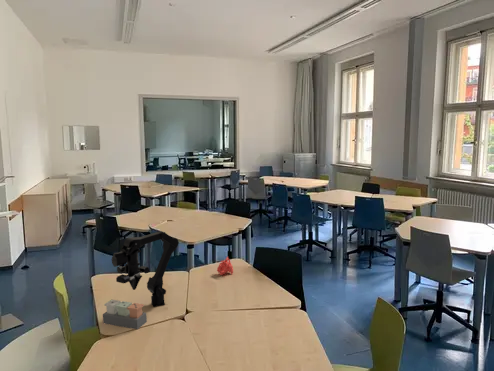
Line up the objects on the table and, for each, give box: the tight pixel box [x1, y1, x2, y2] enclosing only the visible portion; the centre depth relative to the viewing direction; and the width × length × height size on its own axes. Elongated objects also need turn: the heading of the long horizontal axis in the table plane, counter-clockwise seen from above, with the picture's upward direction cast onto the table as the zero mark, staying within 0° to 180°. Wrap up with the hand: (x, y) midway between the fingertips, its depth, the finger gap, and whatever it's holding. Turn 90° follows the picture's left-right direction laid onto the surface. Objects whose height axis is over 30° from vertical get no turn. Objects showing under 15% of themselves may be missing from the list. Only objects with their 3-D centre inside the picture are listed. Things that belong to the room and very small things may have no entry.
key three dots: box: [128, 302, 145, 318], centre depth 189 cm, size 6×6×7 cm
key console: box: [102, 311, 148, 330], centre depth 192 cm, size 8×21×5 cm, turn 71°
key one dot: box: [104, 299, 122, 314], centre depth 194 cm, size 6×6×7 cm
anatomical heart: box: [216, 256, 234, 276], centre depth 258 cm, size 9×12×12 cm
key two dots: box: [116, 300, 133, 316], centre depth 192 cm, size 6×6×7 cm
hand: (134, 289), depth 202 cm, fingers closed
